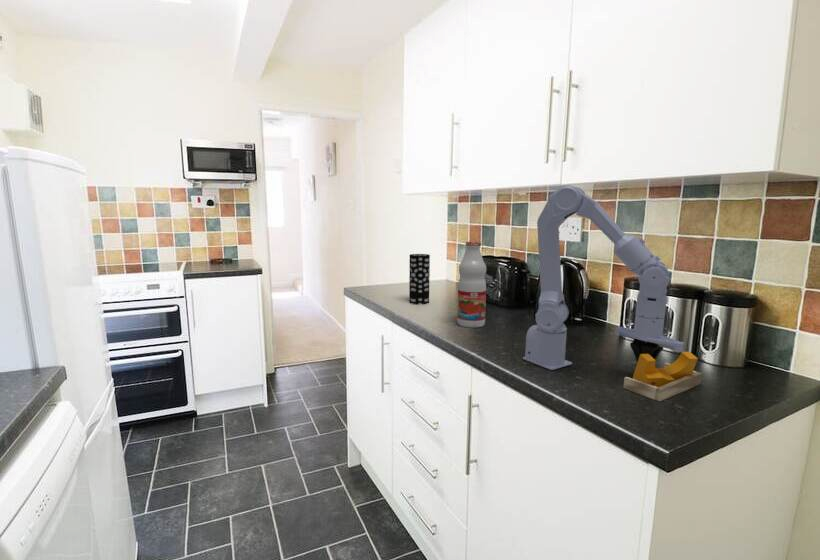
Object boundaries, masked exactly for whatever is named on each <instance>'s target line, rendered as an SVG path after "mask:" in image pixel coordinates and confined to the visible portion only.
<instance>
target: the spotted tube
mask: <svg viewBox="0 0 820 560" xmlns="http://www.w3.org/2000/svg"><path fill="white" fill-rule="evenodd" d="M430 259H431V255H430V254H429V253H412V254H410V253H409V277H408V278H409V279H408V280H409V284H408V285H409V286H408V287H409V290H408V291H409V297H408V299H409V301H408V303H409V302H410V303H409V304H411V303H414V304H413V305H417V304H422V305H427V303H428V304H430V276H431V275H430V271H431V269H430V266H431V265H430V264H431V263H430V262H431V260H430Z"/></svg>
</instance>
